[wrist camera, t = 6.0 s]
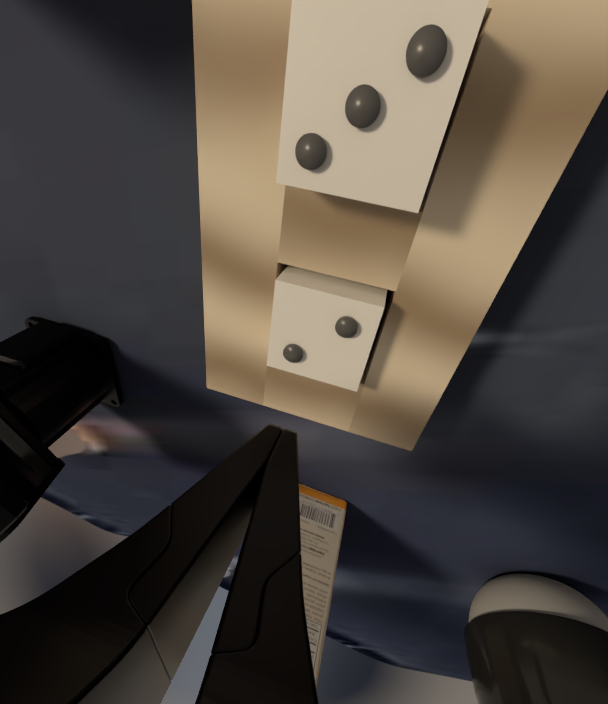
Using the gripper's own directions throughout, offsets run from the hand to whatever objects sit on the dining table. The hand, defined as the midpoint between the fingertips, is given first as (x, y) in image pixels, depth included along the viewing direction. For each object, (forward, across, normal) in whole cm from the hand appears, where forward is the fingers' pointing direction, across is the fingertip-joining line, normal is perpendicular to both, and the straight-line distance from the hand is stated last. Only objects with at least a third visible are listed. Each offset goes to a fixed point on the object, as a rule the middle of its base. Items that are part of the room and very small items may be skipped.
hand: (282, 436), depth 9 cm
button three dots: (+8, 0, -8) cm, 11 cm away
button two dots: (+9, 0, 0) cm, 9 cm away
